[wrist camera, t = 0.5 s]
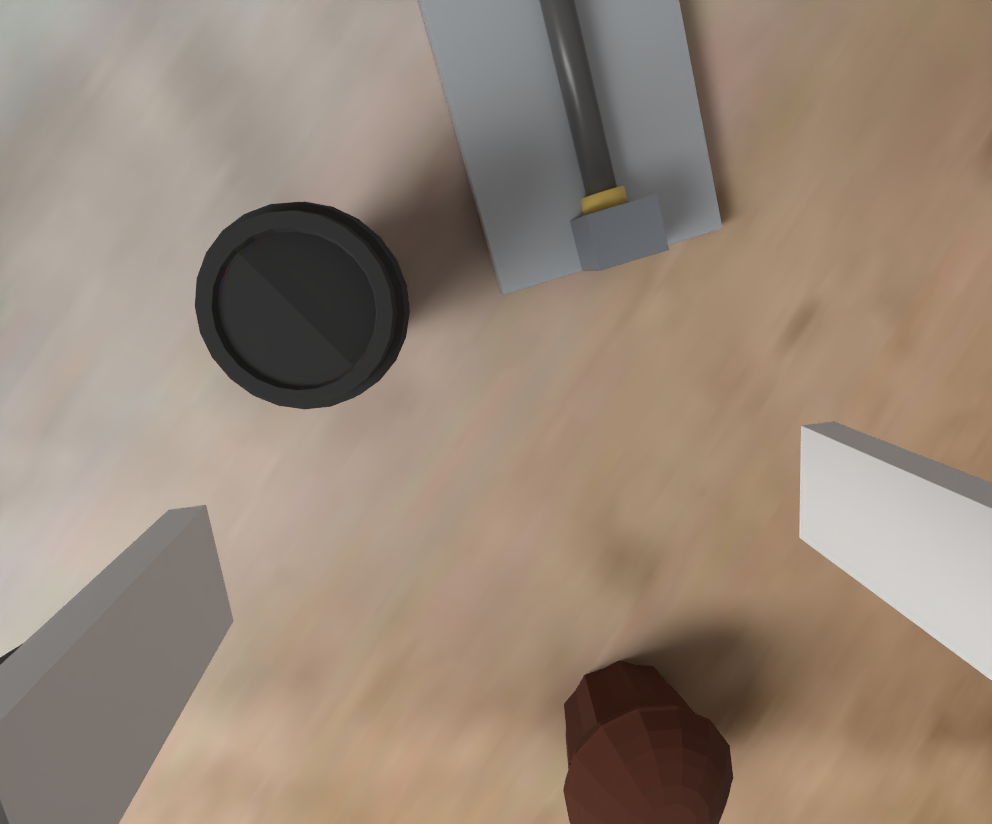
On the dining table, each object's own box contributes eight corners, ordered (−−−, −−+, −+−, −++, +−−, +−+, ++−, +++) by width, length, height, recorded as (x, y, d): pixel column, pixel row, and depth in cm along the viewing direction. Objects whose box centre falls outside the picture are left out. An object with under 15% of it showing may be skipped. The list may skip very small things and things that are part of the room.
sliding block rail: (358, -210, 32) (342, -307, 27) (612, -281, 32) (647, -390, 27) (500, 293, 38) (511, 297, 33) (711, 230, 39) (755, 223, 34)
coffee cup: (348, 195, 36) (290, 143, 22) (446, 299, 38) (452, 316, 24) (250, 292, 37) (130, 305, 22) (351, 390, 39) (300, 460, 24)
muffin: (571, 632, 44) (609, 733, 35) (711, 656, 46) (785, 759, 36) (529, 769, 47) (554, 900, 37) (664, 788, 48) (722, 918, 39)
